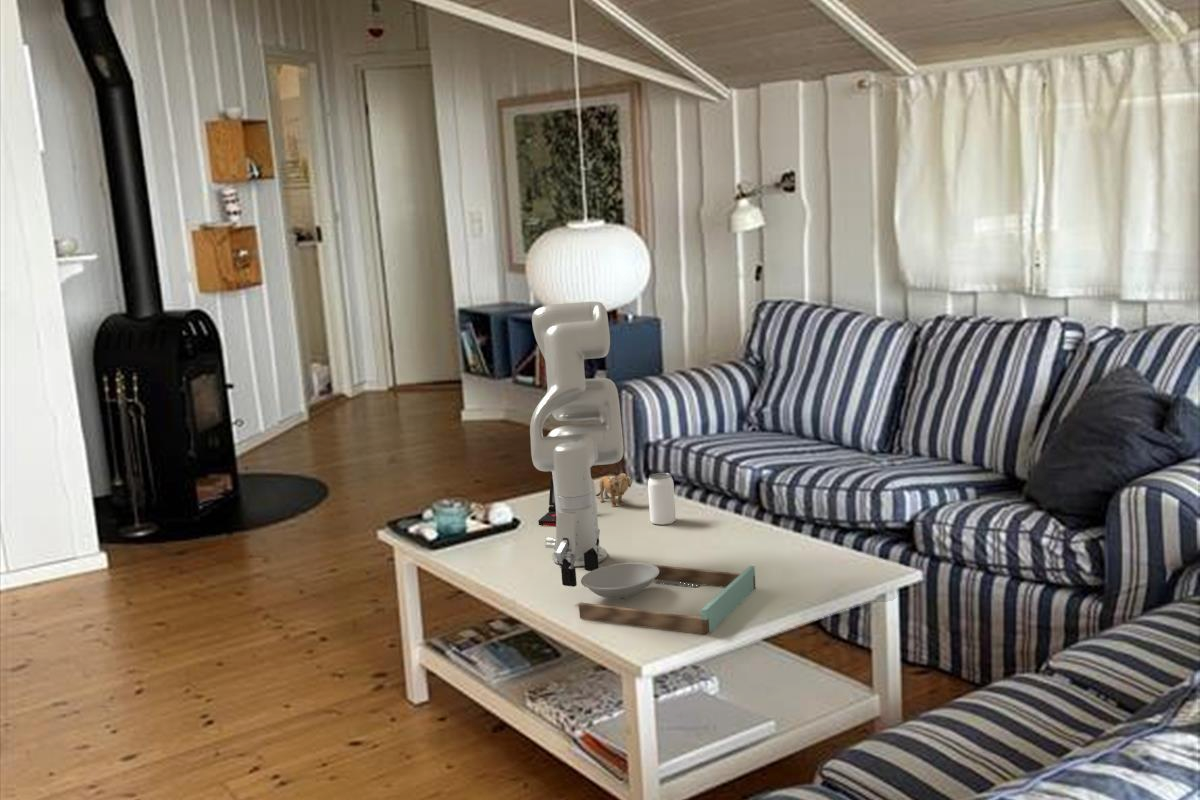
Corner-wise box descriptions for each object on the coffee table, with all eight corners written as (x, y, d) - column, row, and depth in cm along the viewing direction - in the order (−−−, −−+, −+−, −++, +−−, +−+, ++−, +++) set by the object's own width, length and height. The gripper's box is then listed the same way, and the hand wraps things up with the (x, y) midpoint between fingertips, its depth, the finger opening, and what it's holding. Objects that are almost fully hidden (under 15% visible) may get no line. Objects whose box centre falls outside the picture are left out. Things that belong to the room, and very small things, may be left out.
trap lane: (579, 618, 246) (578, 594, 245) (636, 575, 268) (634, 554, 267) (707, 634, 233) (706, 610, 232) (755, 588, 255) (754, 566, 254)
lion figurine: (636, 505, 322) (634, 472, 320) (621, 510, 319) (618, 477, 317) (603, 495, 334) (601, 464, 332) (587, 500, 330) (585, 468, 329)
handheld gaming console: (537, 526, 311) (534, 488, 309) (553, 512, 322) (550, 476, 320) (571, 527, 308) (568, 489, 306) (587, 513, 319) (584, 476, 317)
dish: (634, 579, 266) (632, 557, 265) (675, 595, 255) (674, 572, 254) (568, 600, 256) (566, 577, 255) (608, 618, 245) (606, 594, 244)
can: (676, 524, 303) (673, 478, 300) (650, 526, 303) (647, 480, 301) (675, 517, 309) (672, 471, 307) (649, 518, 309) (646, 473, 307)
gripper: (579, 489, 265) (585, 563, 268) (538, 511, 250) (545, 589, 254) (609, 491, 262) (615, 566, 265) (570, 513, 247) (576, 593, 250)
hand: (580, 578), depth 259 cm, fingers open, 9 cm apart
